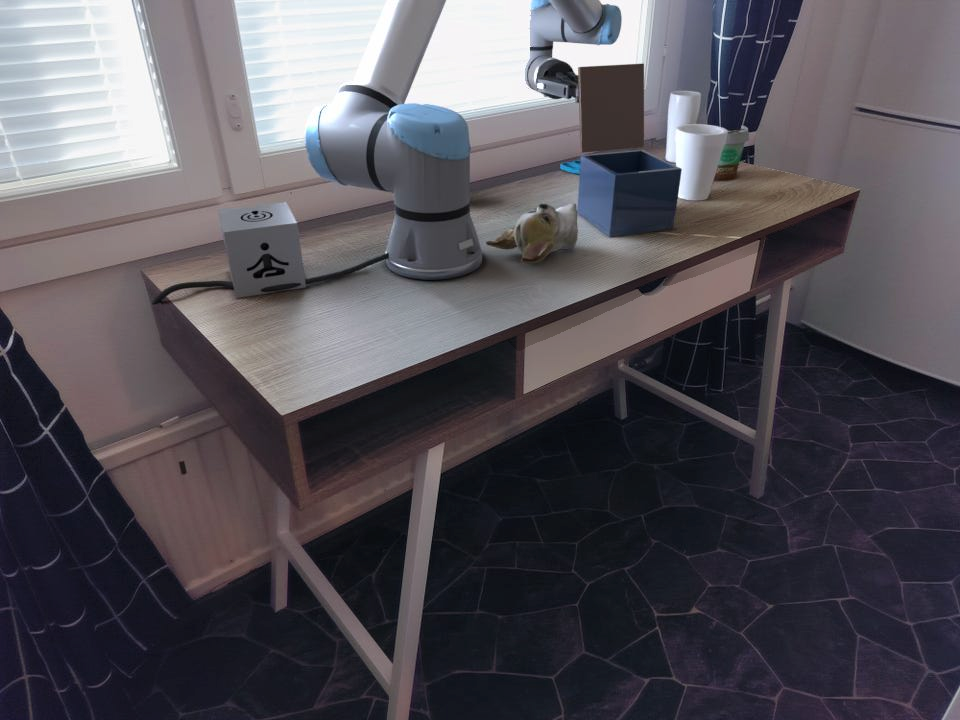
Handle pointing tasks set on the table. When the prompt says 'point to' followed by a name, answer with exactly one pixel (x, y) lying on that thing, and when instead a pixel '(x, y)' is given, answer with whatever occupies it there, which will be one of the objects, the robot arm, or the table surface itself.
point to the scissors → (573, 164)
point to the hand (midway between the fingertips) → (601, 98)
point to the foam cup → (698, 158)
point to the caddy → (628, 192)
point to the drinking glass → (680, 117)
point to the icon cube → (262, 248)
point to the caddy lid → (611, 107)
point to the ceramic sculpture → (541, 232)
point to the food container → (731, 154)
